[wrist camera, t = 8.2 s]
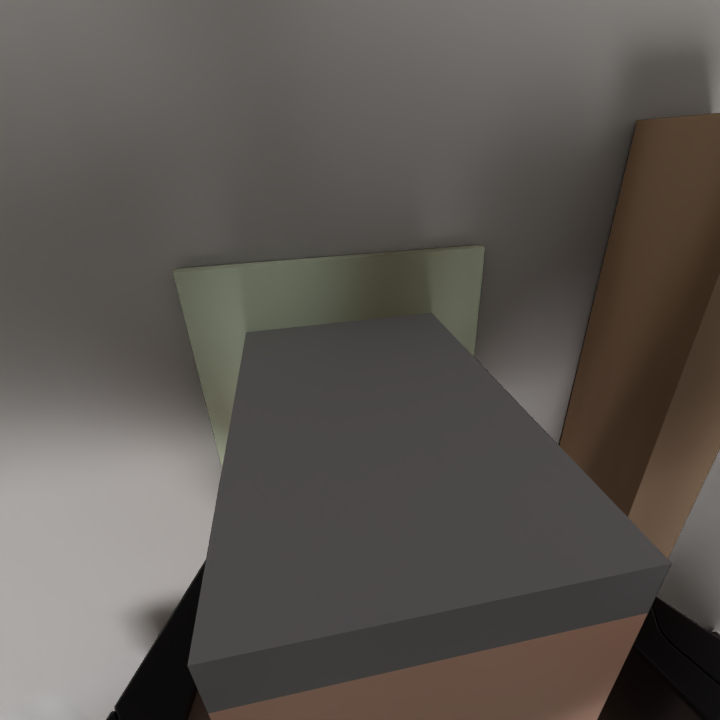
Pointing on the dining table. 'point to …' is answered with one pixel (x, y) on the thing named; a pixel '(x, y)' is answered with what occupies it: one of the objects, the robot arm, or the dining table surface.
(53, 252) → the dining table surface
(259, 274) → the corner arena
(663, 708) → the robot arm
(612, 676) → the terracotta block
